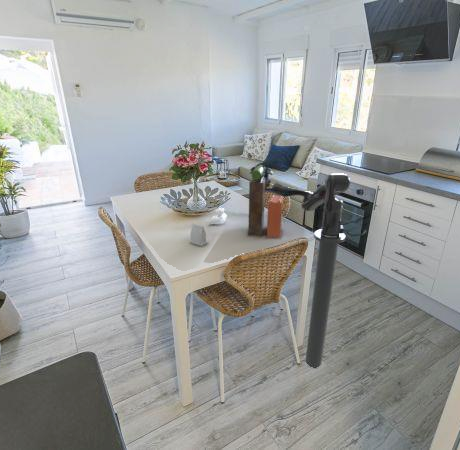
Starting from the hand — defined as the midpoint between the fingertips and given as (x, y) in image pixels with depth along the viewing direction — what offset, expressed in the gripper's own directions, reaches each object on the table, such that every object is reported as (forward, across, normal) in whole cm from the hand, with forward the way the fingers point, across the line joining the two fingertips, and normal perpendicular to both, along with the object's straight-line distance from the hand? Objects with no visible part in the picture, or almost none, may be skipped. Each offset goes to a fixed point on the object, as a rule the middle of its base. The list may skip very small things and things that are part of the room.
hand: (259, 166), depth 169 cm
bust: (-18, -23, +31) cm, 42 cm away
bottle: (+1, 0, +5) cm, 6 cm away
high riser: (-11, 0, +34) cm, 36 cm away
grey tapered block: (+7, -27, +44) cm, 52 cm away
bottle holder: (-11, +10, +34) cm, 37 cm away
